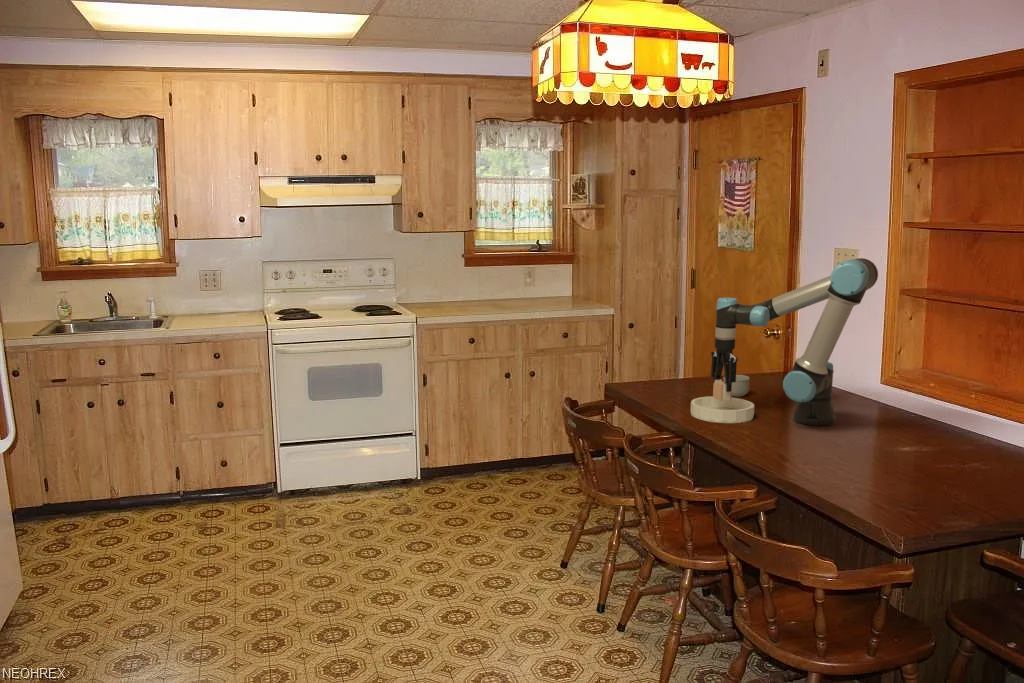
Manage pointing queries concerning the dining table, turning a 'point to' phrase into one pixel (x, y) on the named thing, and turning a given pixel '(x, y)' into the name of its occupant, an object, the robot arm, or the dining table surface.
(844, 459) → the dining table surface
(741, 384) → the teacup
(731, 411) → the bowl
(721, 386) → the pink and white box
